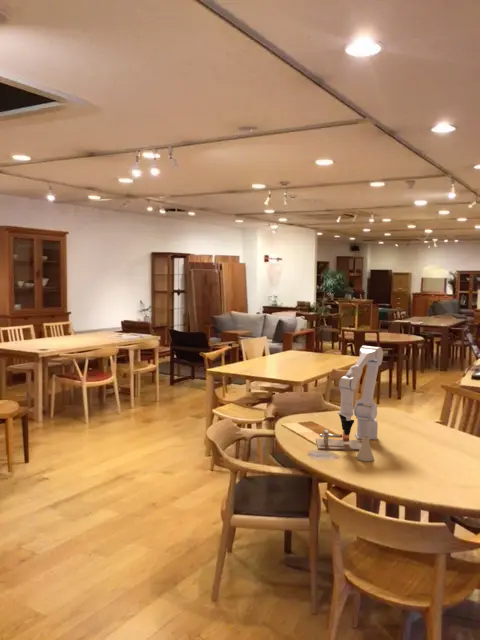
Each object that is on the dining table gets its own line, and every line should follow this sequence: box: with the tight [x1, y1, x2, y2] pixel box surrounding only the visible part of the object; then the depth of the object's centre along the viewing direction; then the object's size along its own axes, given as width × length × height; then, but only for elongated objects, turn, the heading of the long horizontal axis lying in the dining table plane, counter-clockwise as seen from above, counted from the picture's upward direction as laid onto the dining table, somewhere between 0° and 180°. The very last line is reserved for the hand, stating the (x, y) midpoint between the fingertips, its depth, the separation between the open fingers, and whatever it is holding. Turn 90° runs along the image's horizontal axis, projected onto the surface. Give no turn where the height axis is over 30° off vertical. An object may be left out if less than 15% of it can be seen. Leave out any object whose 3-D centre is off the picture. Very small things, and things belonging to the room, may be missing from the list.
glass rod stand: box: [318, 430, 350, 442], centre depth 265 cm, size 13×5×5 cm, turn 87°
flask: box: [355, 435, 375, 462], centre depth 247 cm, size 7×7×10 cm
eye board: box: [315, 429, 363, 452], centre depth 265 cm, size 22×14×7 cm, turn 87°
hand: (345, 432), depth 265 cm, fingers open, 7 cm apart
